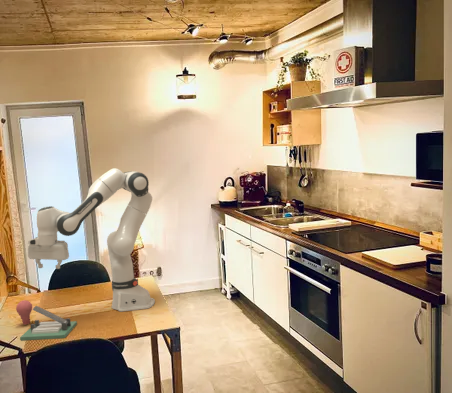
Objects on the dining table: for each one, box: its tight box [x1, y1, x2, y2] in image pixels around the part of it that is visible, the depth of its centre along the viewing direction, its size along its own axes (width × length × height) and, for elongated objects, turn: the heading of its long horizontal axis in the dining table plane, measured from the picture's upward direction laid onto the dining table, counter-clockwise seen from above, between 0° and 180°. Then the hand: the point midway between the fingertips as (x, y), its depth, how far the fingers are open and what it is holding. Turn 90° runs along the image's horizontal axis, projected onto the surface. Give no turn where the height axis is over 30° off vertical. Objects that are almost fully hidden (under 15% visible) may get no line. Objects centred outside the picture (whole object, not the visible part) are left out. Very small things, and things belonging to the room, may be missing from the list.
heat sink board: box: [19, 317, 78, 341], centre depth 211 cm, size 20×16×5 cm
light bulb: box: [15, 299, 33, 326], centre depth 222 cm, size 7×7×12 cm
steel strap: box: [32, 305, 69, 324], centre depth 211 cm, size 17×3×2 cm, turn 89°
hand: (49, 268), depth 223 cm, fingers open, 8 cm apart
